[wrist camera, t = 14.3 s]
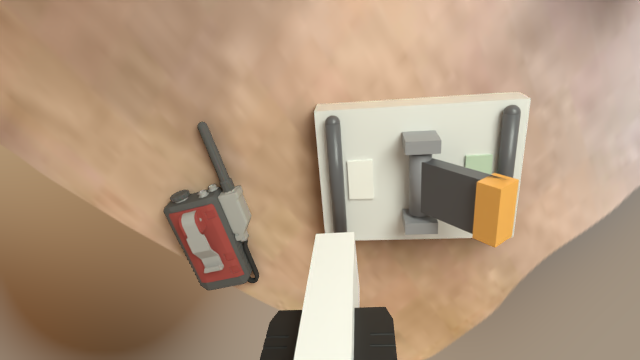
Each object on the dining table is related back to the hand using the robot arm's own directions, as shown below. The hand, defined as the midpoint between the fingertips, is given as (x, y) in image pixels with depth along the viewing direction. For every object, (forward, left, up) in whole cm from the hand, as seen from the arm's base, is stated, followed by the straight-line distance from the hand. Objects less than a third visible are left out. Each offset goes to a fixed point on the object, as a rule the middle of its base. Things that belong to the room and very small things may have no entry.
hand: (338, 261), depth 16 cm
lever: (+6, +6, -21) cm, 23 cm away
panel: (+6, +6, -26) cm, 27 cm away
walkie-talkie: (+11, -16, -26) cm, 33 cm away
